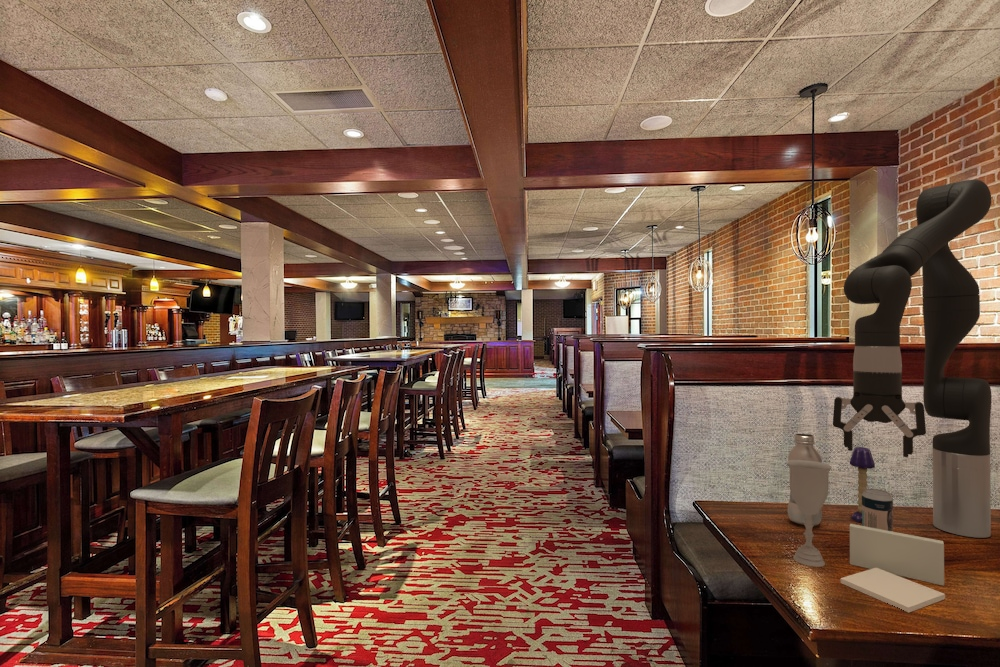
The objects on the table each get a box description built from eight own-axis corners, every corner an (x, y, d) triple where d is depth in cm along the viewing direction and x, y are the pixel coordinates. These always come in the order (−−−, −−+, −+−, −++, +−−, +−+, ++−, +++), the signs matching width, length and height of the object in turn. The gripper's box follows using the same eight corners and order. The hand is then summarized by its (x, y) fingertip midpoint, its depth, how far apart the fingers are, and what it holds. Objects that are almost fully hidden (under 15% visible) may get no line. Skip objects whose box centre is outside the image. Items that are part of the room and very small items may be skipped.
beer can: (898, 560, 93) (898, 496, 93) (870, 558, 94) (869, 494, 94) (884, 549, 98) (884, 488, 98) (857, 547, 99) (857, 487, 99)
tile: (876, 572, 88) (876, 567, 88) (945, 599, 79) (945, 593, 79) (840, 582, 84) (840, 578, 84) (908, 612, 75) (908, 607, 75)
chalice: (790, 565, 91) (790, 466, 91) (783, 550, 97) (782, 458, 97) (837, 571, 88) (836, 470, 89) (826, 556, 95) (826, 461, 95)
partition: (849, 564, 91) (849, 526, 91) (850, 561, 93) (850, 523, 93) (944, 585, 83) (943, 544, 83) (943, 582, 85) (943, 541, 85)
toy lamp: (879, 525, 110) (879, 450, 111) (856, 524, 111) (856, 449, 111) (867, 517, 115) (867, 446, 115) (845, 516, 116) (845, 445, 116)
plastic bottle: (782, 518, 115) (782, 431, 115) (813, 519, 114) (813, 432, 114) (794, 528, 108) (794, 437, 109) (828, 530, 108) (827, 438, 108)
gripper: (831, 369, 98) (831, 451, 97) (926, 372, 89) (927, 462, 89) (834, 367, 103) (834, 445, 103) (923, 370, 95) (924, 455, 95)
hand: (877, 453), depth 96 cm, fingers open, 8 cm apart
